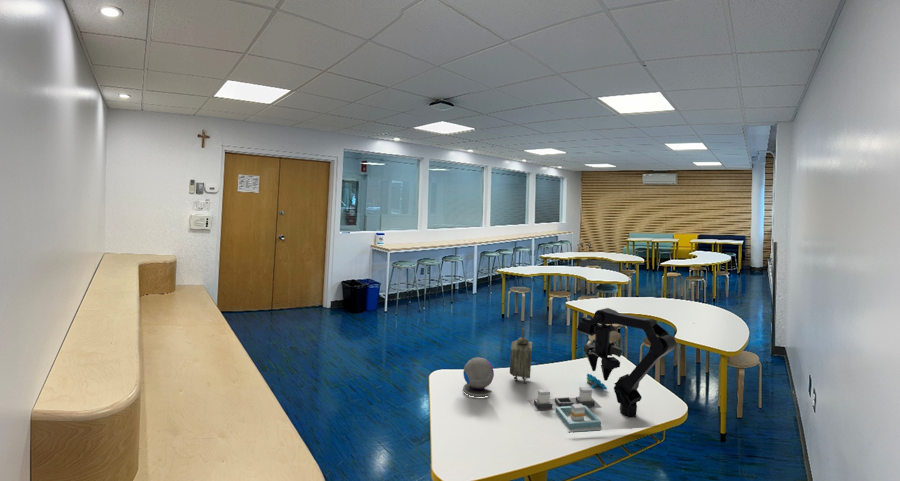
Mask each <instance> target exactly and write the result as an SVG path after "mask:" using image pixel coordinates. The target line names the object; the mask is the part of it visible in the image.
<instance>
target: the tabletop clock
mask: <svg viewBox="0 0 900 481" xmlns="http://www.w3.org/2000/svg"><path fill="white" fill-rule="evenodd" d="M521 332H522V333H521V337H518V339H517V340H514V341H511V347H510V358H509V374H510V375H512V376H513V380H514V379H517V380H518V377H520V378H521V379H522V381H523V382H524V383H523V384H525V385H527V384H528V382H526V378H528V379H530V378H531V370H532V368H531V367H532V366H531V365H532V352H533V351H532V349H533V341H529V340H528V339H527V338H526V337H525V327H522V331H521Z"/></svg>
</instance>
